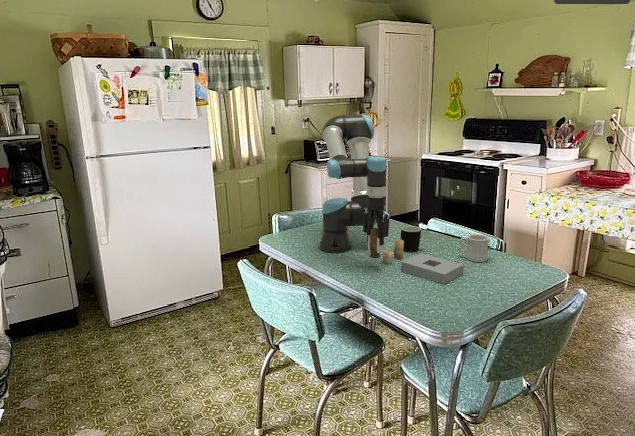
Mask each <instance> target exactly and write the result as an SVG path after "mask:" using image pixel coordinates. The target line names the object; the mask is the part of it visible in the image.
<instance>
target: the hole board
mask: <svg viewBox="0 0 635 436" xmlns="http://www.w3.org/2000/svg"><path fill="white" fill-rule="evenodd" d="M464 268H465V267H464V264H462V263H459V262H454V261H451V260H448V259H443V258H440V257H436V256H433V255H429V254H425V253H422V252H420V253H418V254H415V255H414V256H411V257H409V258H406V259H404V260H402V261H401V262H400V272H404V273H405V274H409V275H413V276H416V277H419V278H422V279H426V280H428V281H431V282H432V281H433V282H435V283H438V284H442V285H445V284H448V283H449V282H451V281H453V280H455V279H457V278H458V277H461V276H463V275H464Z"/></svg>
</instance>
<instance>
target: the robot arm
mask: <svg viewBox="0 0 635 436" xmlns="http://www.w3.org/2000/svg"><path fill="white" fill-rule="evenodd" d="M372 119H373V118H371V117H370V115H369V114H349V115H347V114H345V115H341V114H340V115H339V114H338V115H335V116H333V117H331V118H329V119H328V120H327V121H326V122H325V123H324V125H323V127H322V130H321V136H322V137H321V138H322V139H323V141H324V143H325V144H326V148H327V152H328V157H329V160H327V163H326V167H327V168H326V172H327V176H328V178H329V179H343V178H345V179H346V178H352V189H353V194H352V196H351V197H350V200H348V199H347V198H346V197H336V198H335V197H334V198H330V199H328V200H325V201H324V202H323V203H322V235H321V238H320V241H319V250H321V251H323V252H326V253H331V254H333V253H335V254H337V253H338V254H339V253H344V252H349V251H350V250H351V249H352V241H351V238H350V236H349V232H348V230H349V228H348V227H361V226H362V228H363V229H362V231H363V233H366V242H368V243H367V246H368V247H367V251H370V245H371V228H375V227H374V226H375V225H376V226H377V227H376V228H378V234H379V237H378V238H377V253H380V254H381V253H383V251H384V250H383V248H384V247H383V246H384V244H385V238H387V237H389V234H390V233H389V230H390V218H391V216H392V214H391V213H388V212H387V211H386V208H385V207H386V204H387V203H386V201H387V200H386V194H387V167H388V166H387V159H386V158H385V157H384V156H370V153H369V145H370V143H371V142H372V139H373V138H374V135H375V132H374V128H375V127H374V123H373V120H372ZM343 140H344V141H346V144H347V145H348V147H350V149H349V150H350V158H348V155H347V150H346V147H345V143H344V141H343Z"/></svg>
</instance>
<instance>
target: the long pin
mask: <svg viewBox="0 0 635 436" xmlns="http://www.w3.org/2000/svg"><path fill="white" fill-rule="evenodd" d="M378 237H379V234H378V227H373V228H371V245H370V250H369V252H370V258H372V259H379V258H380V257H381V252H380V253H377V238H378Z"/></svg>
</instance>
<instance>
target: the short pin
mask: <svg viewBox="0 0 635 436" xmlns="http://www.w3.org/2000/svg"><path fill="white" fill-rule="evenodd" d="M382 264H383V265H391V264H393V250H389V249H385V250H383V251H382Z"/></svg>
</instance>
